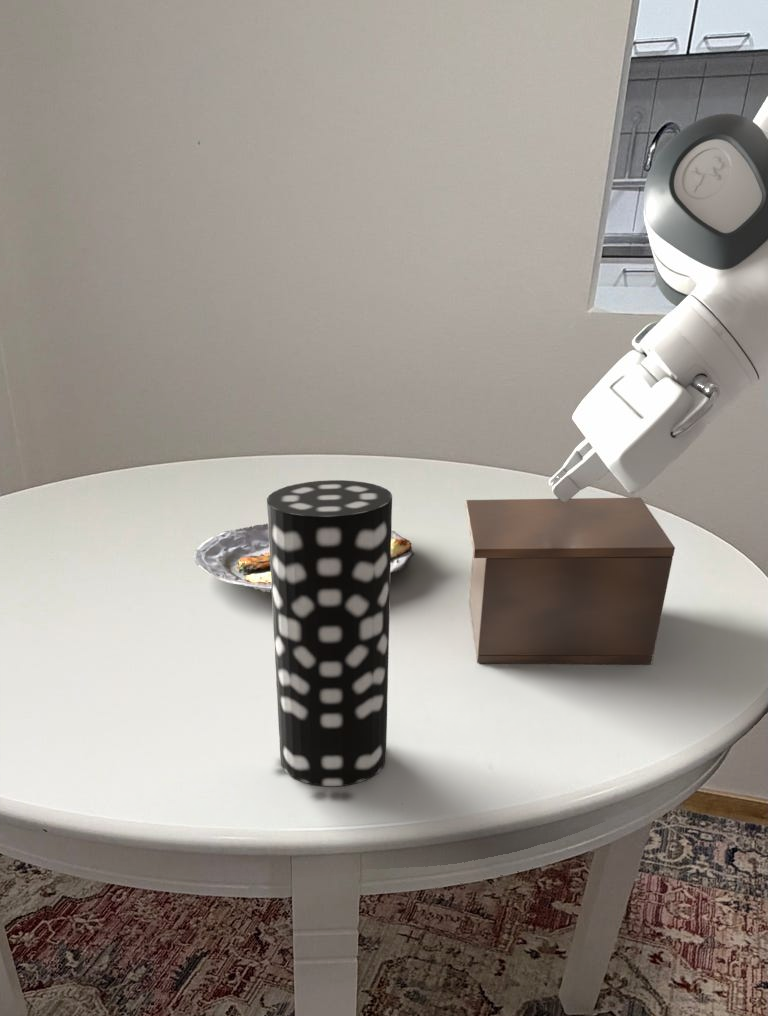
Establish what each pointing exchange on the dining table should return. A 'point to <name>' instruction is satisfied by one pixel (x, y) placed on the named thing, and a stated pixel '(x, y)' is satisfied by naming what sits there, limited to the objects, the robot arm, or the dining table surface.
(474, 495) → the dining table surface
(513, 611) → the chest
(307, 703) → the white-spotted black cylinder
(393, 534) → the food plate
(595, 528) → the lid
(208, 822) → the dining table surface
